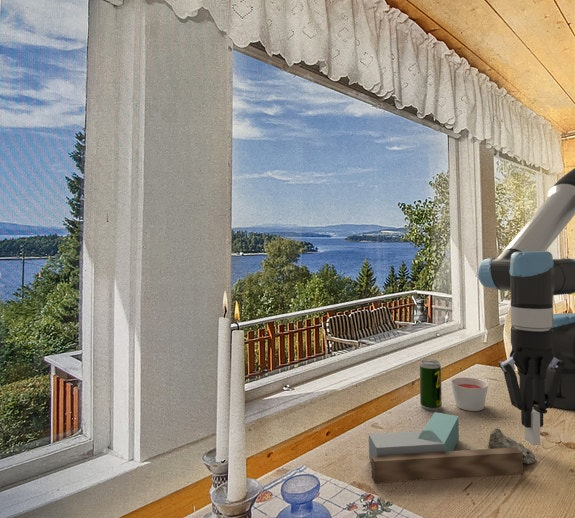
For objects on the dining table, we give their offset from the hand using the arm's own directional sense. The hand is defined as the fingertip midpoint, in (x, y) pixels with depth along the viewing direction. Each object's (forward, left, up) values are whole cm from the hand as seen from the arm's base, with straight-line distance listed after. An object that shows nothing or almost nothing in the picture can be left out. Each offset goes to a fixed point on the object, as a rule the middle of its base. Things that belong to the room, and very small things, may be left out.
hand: (532, 441), depth 88 cm
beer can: (+11, -26, -2) cm, 28 cm away
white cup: (+1, -25, -2) cm, 25 cm away
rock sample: (+5, +1, -3) cm, 6 cm away
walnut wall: (+21, +6, -2) cm, 22 cm away
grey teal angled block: (+23, -2, -2) cm, 23 cm away
